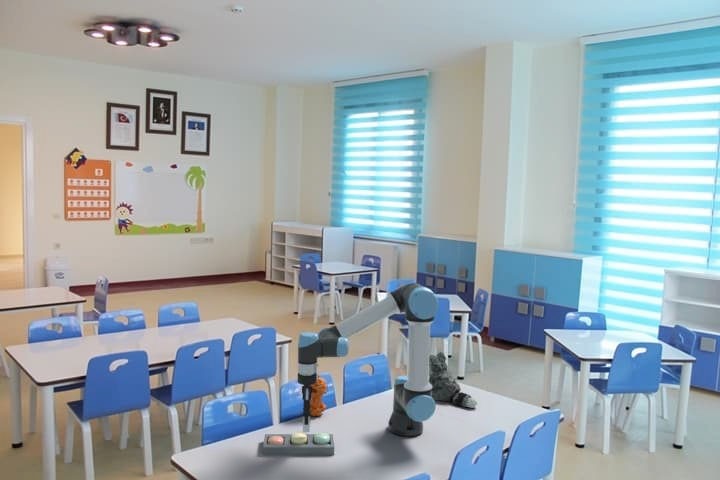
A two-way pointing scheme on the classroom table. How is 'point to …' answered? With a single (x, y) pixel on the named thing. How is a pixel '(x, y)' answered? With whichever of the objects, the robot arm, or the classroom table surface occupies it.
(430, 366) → the raccoon plush
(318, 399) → the toy dinosaur
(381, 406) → the classroom table surface
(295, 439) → the yellow button
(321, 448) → the button panel
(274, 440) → the coral button
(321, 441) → the green button
